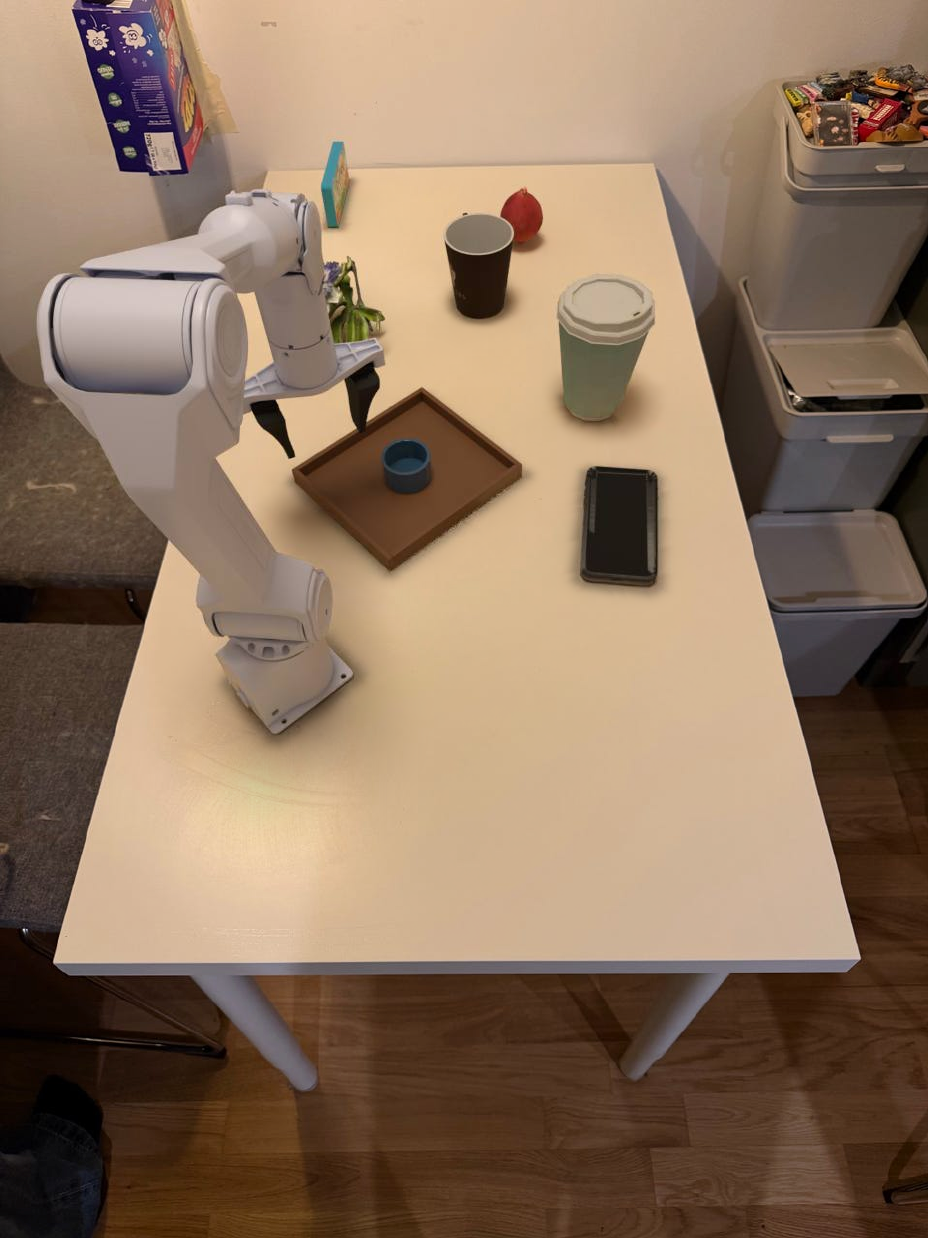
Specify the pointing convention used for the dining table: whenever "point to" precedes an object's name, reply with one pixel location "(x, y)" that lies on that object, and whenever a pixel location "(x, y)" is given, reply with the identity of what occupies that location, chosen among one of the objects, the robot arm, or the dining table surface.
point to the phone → (620, 526)
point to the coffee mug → (479, 262)
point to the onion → (523, 215)
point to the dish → (406, 465)
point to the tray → (407, 521)
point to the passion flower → (347, 304)
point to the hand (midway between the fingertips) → (324, 438)
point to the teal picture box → (335, 184)
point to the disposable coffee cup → (601, 341)
